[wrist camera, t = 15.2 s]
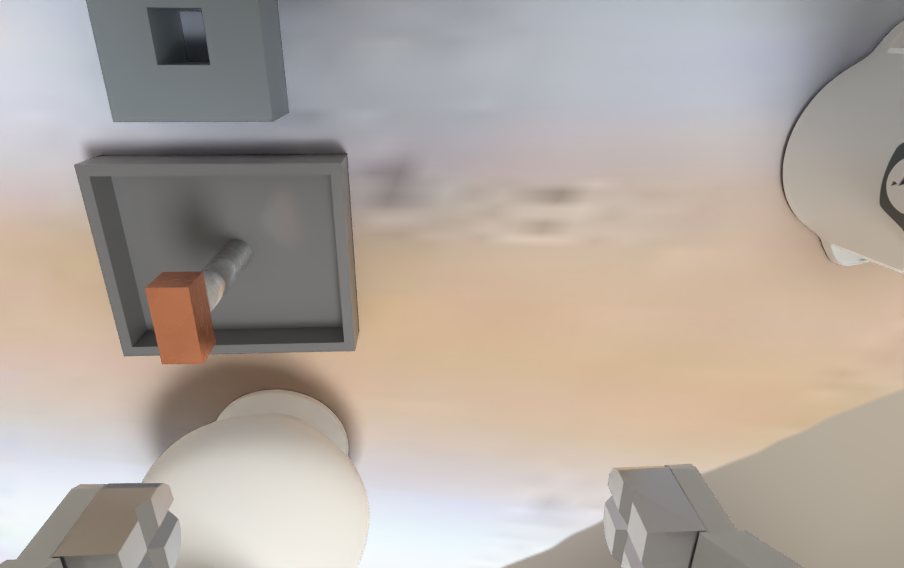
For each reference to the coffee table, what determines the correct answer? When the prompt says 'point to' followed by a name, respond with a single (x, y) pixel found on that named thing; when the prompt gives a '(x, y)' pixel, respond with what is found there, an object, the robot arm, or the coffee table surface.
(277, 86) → the hitch block
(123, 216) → the tray
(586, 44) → the coffee table surface
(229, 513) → the decorative vase
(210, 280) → the pin
